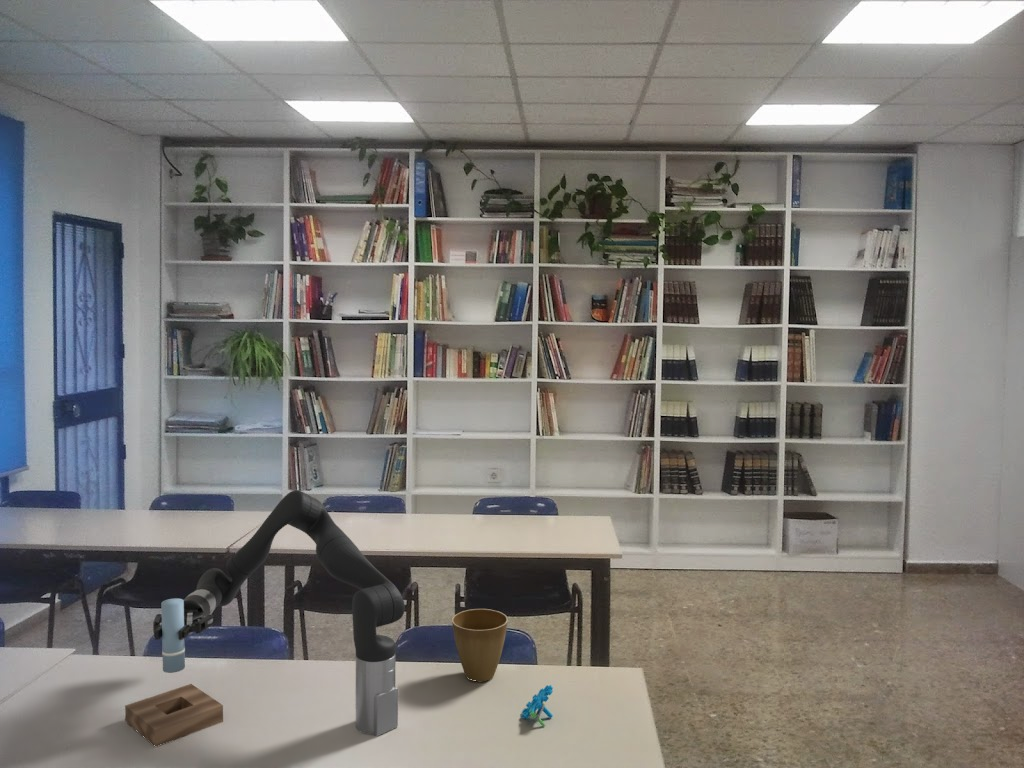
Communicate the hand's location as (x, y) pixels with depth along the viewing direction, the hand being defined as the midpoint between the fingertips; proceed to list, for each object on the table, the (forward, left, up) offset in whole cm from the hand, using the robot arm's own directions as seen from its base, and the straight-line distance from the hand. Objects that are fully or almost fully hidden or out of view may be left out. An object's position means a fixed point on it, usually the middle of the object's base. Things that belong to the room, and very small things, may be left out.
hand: (168, 635), depth 187 cm
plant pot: (-32, -69, -22) cm, 80 cm away
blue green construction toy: (-58, -63, -22) cm, 89 cm away
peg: (+2, -2, -9) cm, 9 cm away
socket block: (+2, -2, -22) cm, 22 cm away
